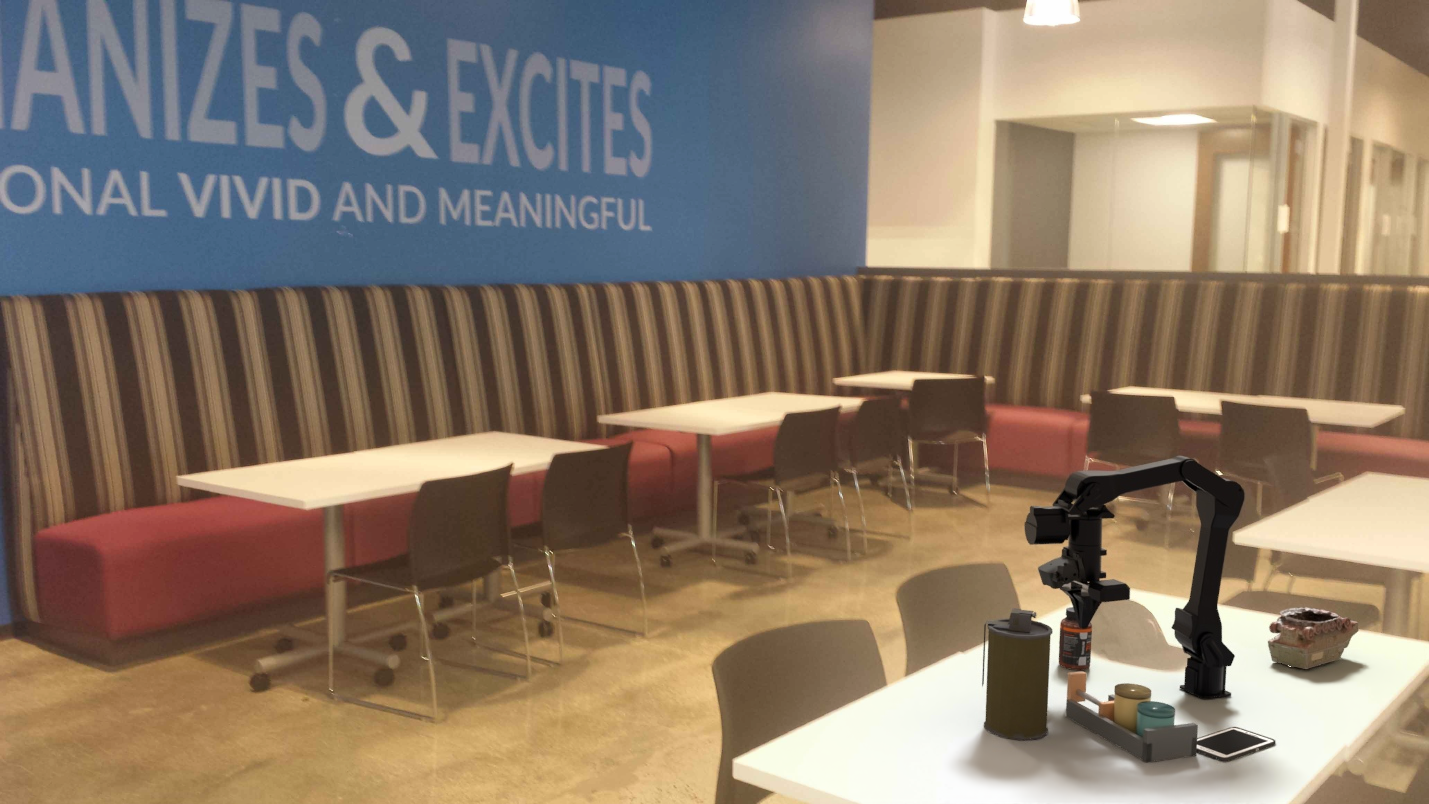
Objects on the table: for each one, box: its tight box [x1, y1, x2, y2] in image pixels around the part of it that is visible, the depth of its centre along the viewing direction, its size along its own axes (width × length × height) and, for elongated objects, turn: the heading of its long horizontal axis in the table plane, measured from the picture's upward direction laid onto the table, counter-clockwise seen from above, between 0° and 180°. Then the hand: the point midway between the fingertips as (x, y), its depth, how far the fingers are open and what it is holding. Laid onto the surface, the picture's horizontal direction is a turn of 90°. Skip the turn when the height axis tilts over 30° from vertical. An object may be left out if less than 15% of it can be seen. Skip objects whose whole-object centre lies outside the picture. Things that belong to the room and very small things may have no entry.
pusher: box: [1066, 670, 1114, 721], centre depth 208 cm, size 7×13×6 cm, turn 19°
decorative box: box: [1267, 606, 1360, 670], centre depth 244 cm, size 13×20×10 cm, turn 117°
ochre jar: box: [1113, 682, 1152, 734], centre depth 200 cm, size 6×6×8 cm
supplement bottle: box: [1058, 606, 1093, 671], centre depth 236 cm, size 6×6×11 cm
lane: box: [1065, 694, 1199, 763], centre depth 200 cm, size 10×21×5 cm, turn 19°
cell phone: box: [1196, 726, 1276, 763], centre depth 197 cm, size 8×15×1 cm, turn 124°
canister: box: [981, 607, 1053, 741], centre depth 202 cm, size 11×10×20 cm
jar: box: [1136, 700, 1176, 738], centre depth 194 cm, size 6×6×7 cm
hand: (1083, 628), depth 219 cm, fingers closed
